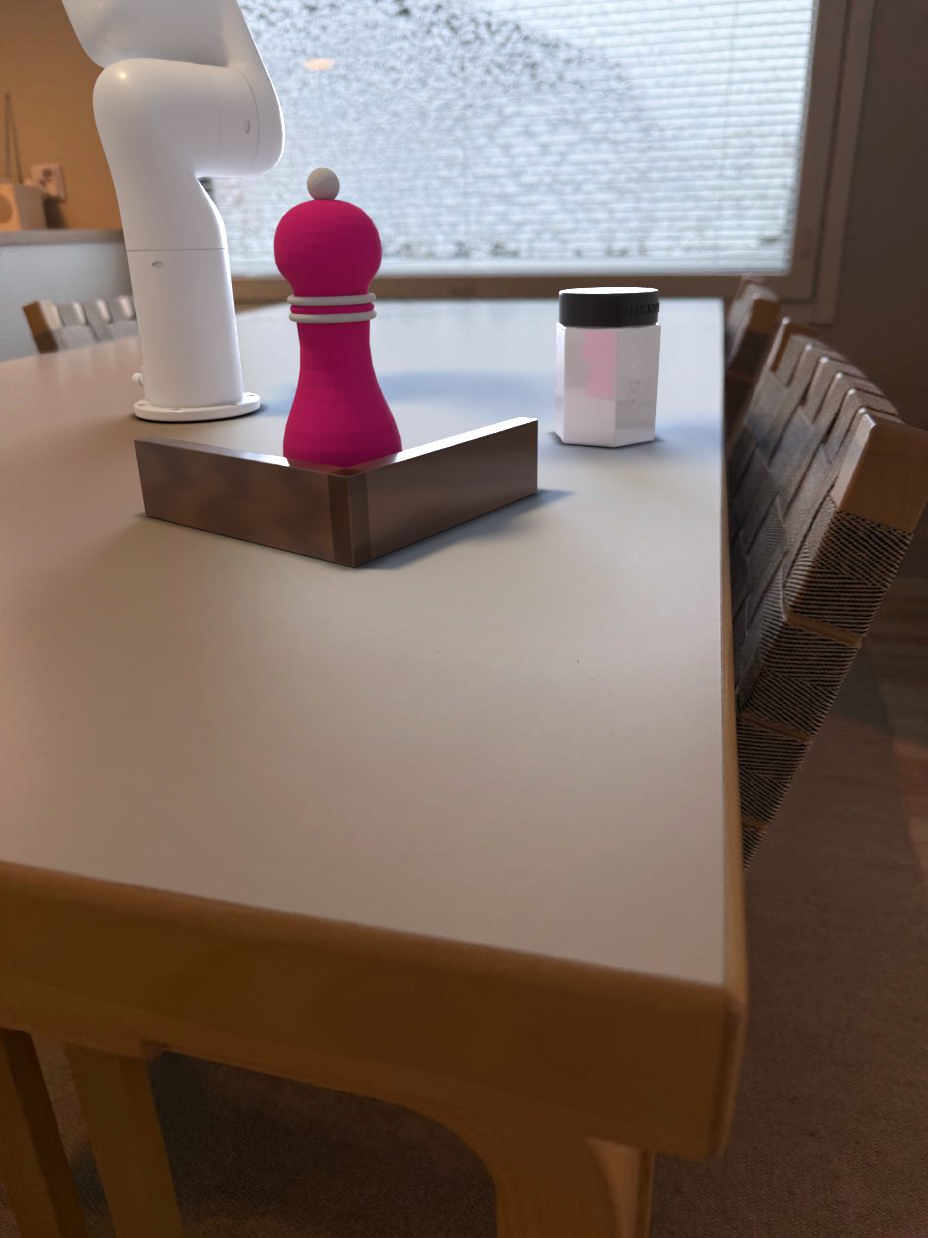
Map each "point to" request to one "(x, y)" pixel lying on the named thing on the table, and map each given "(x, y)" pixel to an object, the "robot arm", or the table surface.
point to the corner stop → (339, 491)
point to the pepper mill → (333, 330)
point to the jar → (607, 366)
